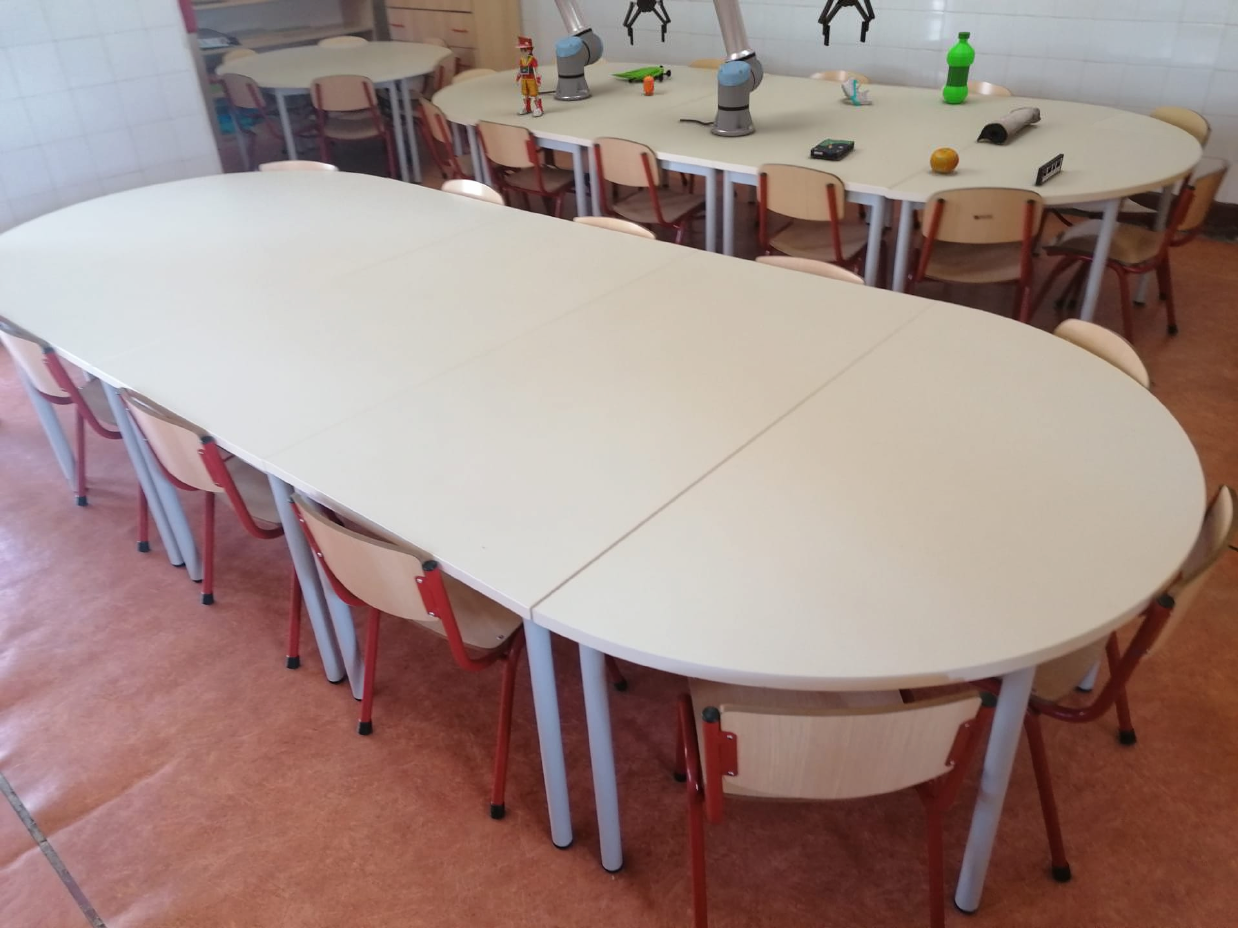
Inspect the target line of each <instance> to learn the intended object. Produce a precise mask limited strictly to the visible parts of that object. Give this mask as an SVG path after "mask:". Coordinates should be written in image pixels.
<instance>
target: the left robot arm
mask: <svg viewBox="0 0 1238 928" xmlns="http://www.w3.org/2000/svg"><path fill="white" fill-rule="evenodd" d="M554 3H555V5H556V7H557V11H558V13H559V14H560V17H561V19H562V22H563V24H564V26H565V29H566V31H567V33H568V36H567V37H563V38H560V39H559V40H557V42H556V43H555V58H556V68H557V85H556V89H555V90H549V91H539V94H538V95H545V94H554V93H555V99H556V100H559V101H581V100H584V99H587V98H590V96H591V91H590V88H589V87H590V86H589V84H588V82H587V80H586V76H585V67H588V66H590V65H594V64H595V63H597V62H598V61H599V60H601V58H602V56H603V53H604V43H603V40H602V38H601V37H600V36H599V35H598V34H596V33H594V31H593V29H592V27H591V26H589V25H587V23H586V21H585V18H584V16H583V14H582V12H581V9H580V6H579V4H578V2H577V0H554ZM656 5H658V6H659V8H660V10H661V12H662V14H663V16H664V17H663V16H662V15H661V13H660V12H659V11H658V10H657V9H656ZM636 6H637V9H636V10H635V13H634V14H633V16H632V13H633V11H634V9H635V7H636ZM652 12H653V14H654V15H655V16H656V17H657V18H658V19H659V21H660V22H661V24H660V28H661V29H660V31H661V32H660V34H661V35H660V36H661V43H665V42H666V36H665V35H666V34H668V33H667V32H668V24H671V22H672V20H671V17H670V16H669V13H668V12H667V10H666V7H665V5H664V0H636V1H632V0H630V1H629V7H628V10H627V13H626V15H625V18H624V19H623V22H622V26H623V27H624V28H627V30H626V31H627V37H629V44H630V45H631V46H634V27H633V25H634V24H635V22H636V21H637V19H638V18H639V16H640V15H641V13H644V14H646V13H652ZM631 16H632V17H631Z"/></svg>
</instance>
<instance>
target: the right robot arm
mask: <svg viewBox="0 0 1238 928" xmlns="http://www.w3.org/2000/svg"><path fill="white" fill-rule="evenodd" d="M862 1H863V3H864V7H865V9H866V10H865V9H864V7H863V6H862V4H861V2H860V1H859V0H837V1H836V3H835V4H834V2H835V0H827V1H826V3H825V5H824V7H823V9H822V11H821V13H820V15H819V18H818V19H817V23H818V24H820V25H822V31H821V32H822V33H821V34H822V36H823V37H824V38H823V46H826V47H829V46H830V35H831V25H830V23H831V21H832V20H833V19H834V18H835V17H836V15H837V14H838V12H839V11H840V10H841V9H843V7H844V8H848V7H855V9H856V10H857V12H858V13H859V14H860V16H861V18H862V19H863V20H862V21H861V28H860V37H859V38H860V39H859V42H860V43H863V44H865V43H866V39H867V32H869V31H870V29H869V28H870V23H871V21H873V20H875V19H876V15H875V11H874V8H873V6H872V3H871V0H862ZM712 3H713V6H714V9H715V10H714V11H715V13H716V17H717V22H718V24H719V28H720V33H721V36H722V40H723V44H724V48H725V52H726V58H725V60H724V63H723V64H721V65H720V66H719V68H718V70H717V111H716V114H715V118H714V120H713V121H710V122H704V121H702V120H698V119H689V118H686V119H685V118H680V119H679V121H680V122H691V123H698V124H701V125H704V126H709V125H712V133H713V134H715V135H717V136H721V137H741V136H746V135H750V134H752V133H754V127H755V126H754V122H753V118H752V115H751V111H750V94H751V93H752V92H754V91H756V90H757V89H758V87H760V85H761V83H762V82H763V79H764V75H765V74H764V72H765V71H764V67H763V64H762V62H761V61H760V60H759V59H758V58H757V54H756V50H755V49H753V48H751V46H750V44H749V43H750V42H749V38H748V34H747V30H746V27H745V22H744V19H743V15H742V10H741V7H740V3H739V0H712ZM833 4H834V7H833Z"/></svg>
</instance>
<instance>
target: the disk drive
mask: <svg viewBox="0 0 1238 928" xmlns="http://www.w3.org/2000/svg"><path fill="white" fill-rule="evenodd" d="M854 149H855V140H844V139H831V138H826V139H825V140H823V141H821V142H819V143H818V144H817V145H814V147H812V148H811V149H810V153H809V156H810V157H812V158H817V159H822V160H823V159H825V160H835V161H838V160H840V159H842V158H844V156H846V155H847V154H850V152H851V151H853V150H854Z"/></svg>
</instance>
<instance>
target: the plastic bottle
mask: <svg viewBox="0 0 1238 928" xmlns="http://www.w3.org/2000/svg"><path fill="white" fill-rule="evenodd" d="M970 36H971V32H970V31H959V32H958V36H957V39H958V42H957V43H956V44H954V45H953V46H952V47H951V48H950V49H949V50H948V52H947V54H946V63H947V64H948V69H947V70H948V71H947V76H946V77H947V78H946V84H945V85H944V87H943V90H942V97H943V99H944V100H945V101H946V102H947V103H948V104H960V103H961V102H963V101H964V100H966V98H967V96H968V95H969V85H968V79H969V73H970V67H971V65H972V64H973V63H974V61H975V57H976V51H975V49H974V47H972V45H971V44H970V43H969V42H968V41H969V39H970V38H971V37H970Z"/></svg>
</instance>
